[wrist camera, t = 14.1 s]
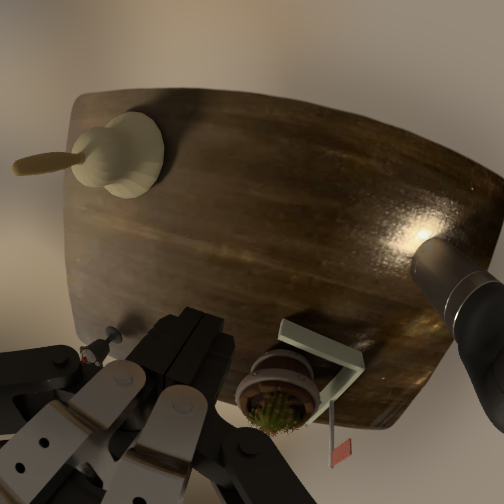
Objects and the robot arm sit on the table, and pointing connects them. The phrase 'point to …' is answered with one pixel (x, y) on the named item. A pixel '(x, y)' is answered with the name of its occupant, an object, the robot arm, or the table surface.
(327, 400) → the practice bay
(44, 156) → the handbell
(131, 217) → the table surface
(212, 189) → the table surface
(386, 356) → the table surface
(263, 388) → the flowerpot
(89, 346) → the sundae
